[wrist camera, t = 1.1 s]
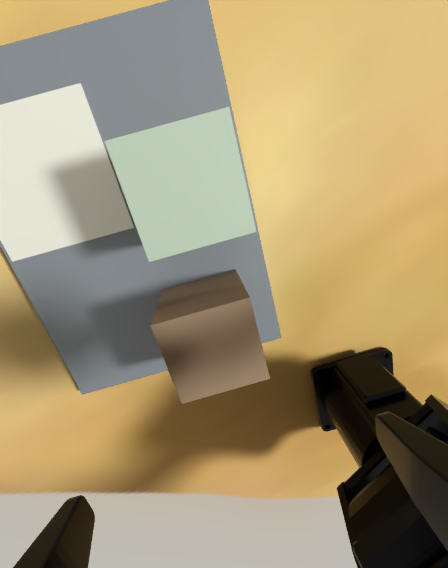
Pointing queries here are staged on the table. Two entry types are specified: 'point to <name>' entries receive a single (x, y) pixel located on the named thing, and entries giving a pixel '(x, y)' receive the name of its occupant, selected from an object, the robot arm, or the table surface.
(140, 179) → the sage block
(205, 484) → the table surface
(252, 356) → the walnut block
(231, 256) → the baseplate
